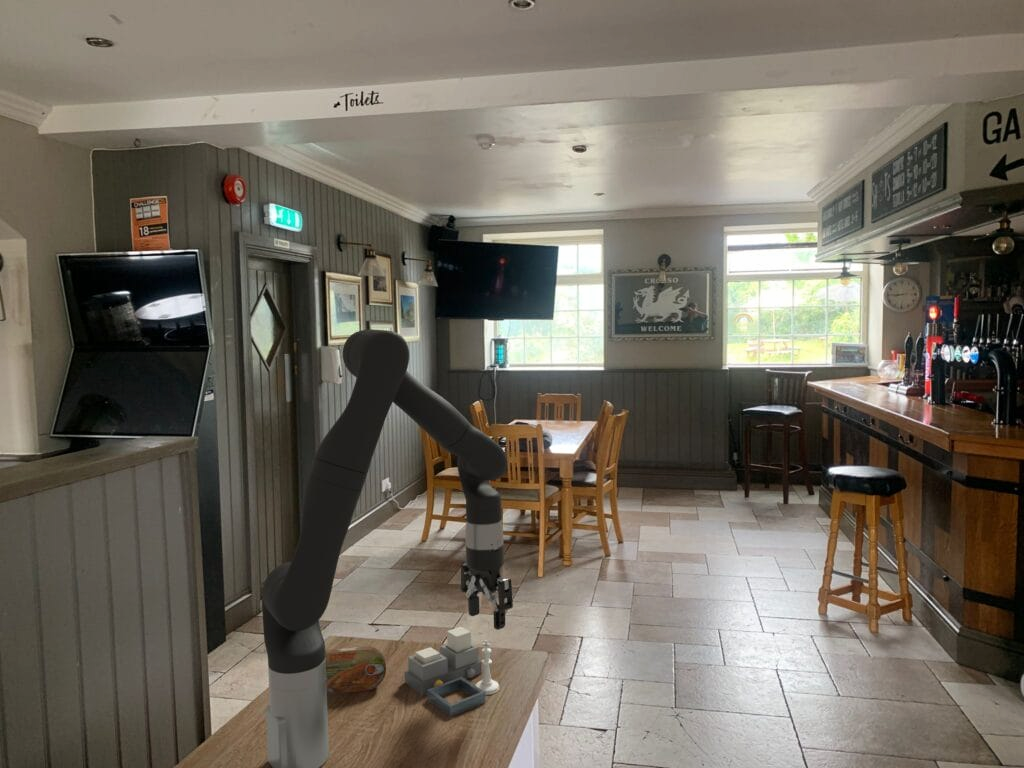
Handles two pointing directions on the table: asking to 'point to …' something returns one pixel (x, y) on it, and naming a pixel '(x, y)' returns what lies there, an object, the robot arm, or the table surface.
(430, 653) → the white square block
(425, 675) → the yellow-knobbed grey box
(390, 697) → the table surface
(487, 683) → the chess piece
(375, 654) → the tin
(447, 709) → the frame
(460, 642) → the breaker
